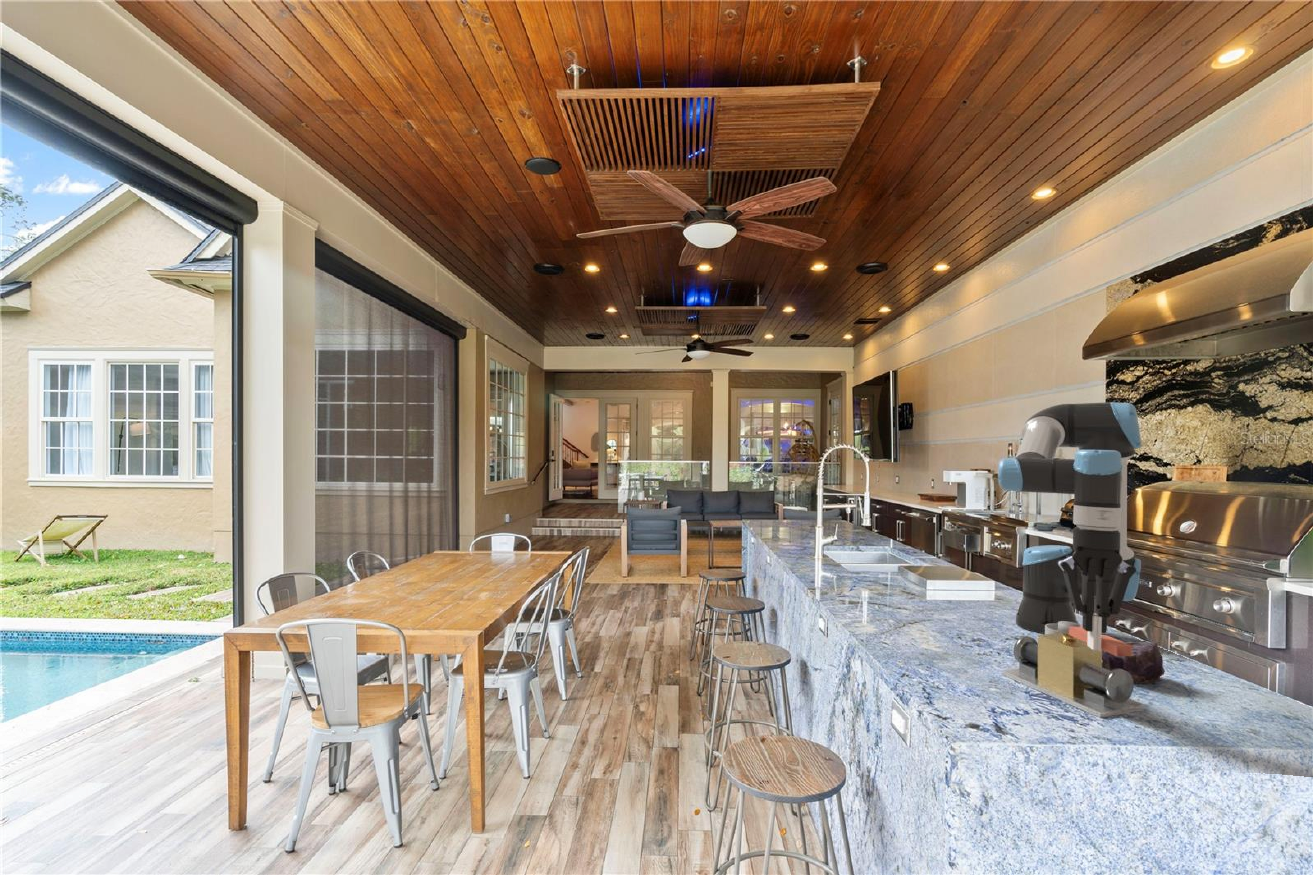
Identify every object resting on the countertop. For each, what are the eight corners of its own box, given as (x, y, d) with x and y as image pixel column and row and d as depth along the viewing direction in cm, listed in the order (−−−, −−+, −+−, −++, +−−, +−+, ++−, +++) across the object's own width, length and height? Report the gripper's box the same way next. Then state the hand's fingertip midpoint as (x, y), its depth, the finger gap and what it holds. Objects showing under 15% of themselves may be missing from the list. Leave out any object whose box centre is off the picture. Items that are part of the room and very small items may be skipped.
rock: (1099, 675, 140) (1121, 691, 130) (1092, 638, 141) (1113, 651, 131) (1157, 672, 137) (1184, 688, 127) (1150, 634, 138) (1176, 648, 128)
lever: (1053, 629, 130) (1053, 620, 130) (1071, 629, 130) (1071, 620, 130) (1113, 656, 114) (1113, 645, 114) (1134, 655, 114) (1134, 645, 114)
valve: (1043, 669, 140) (1043, 617, 140) (1144, 709, 119) (1144, 648, 119) (1003, 675, 136) (1003, 621, 137) (1100, 717, 115) (1100, 654, 116)
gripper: (1066, 528, 116) (1064, 650, 116) (1144, 532, 113) (1142, 658, 112) (1052, 523, 123) (1049, 638, 123) (1125, 527, 120) (1123, 646, 120)
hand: (1094, 648), depth 118 cm, fingers closed
